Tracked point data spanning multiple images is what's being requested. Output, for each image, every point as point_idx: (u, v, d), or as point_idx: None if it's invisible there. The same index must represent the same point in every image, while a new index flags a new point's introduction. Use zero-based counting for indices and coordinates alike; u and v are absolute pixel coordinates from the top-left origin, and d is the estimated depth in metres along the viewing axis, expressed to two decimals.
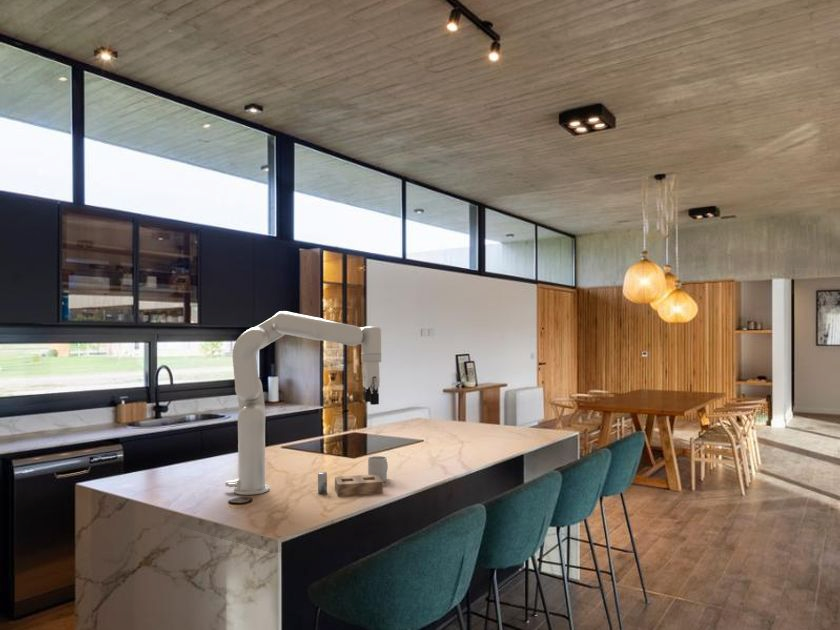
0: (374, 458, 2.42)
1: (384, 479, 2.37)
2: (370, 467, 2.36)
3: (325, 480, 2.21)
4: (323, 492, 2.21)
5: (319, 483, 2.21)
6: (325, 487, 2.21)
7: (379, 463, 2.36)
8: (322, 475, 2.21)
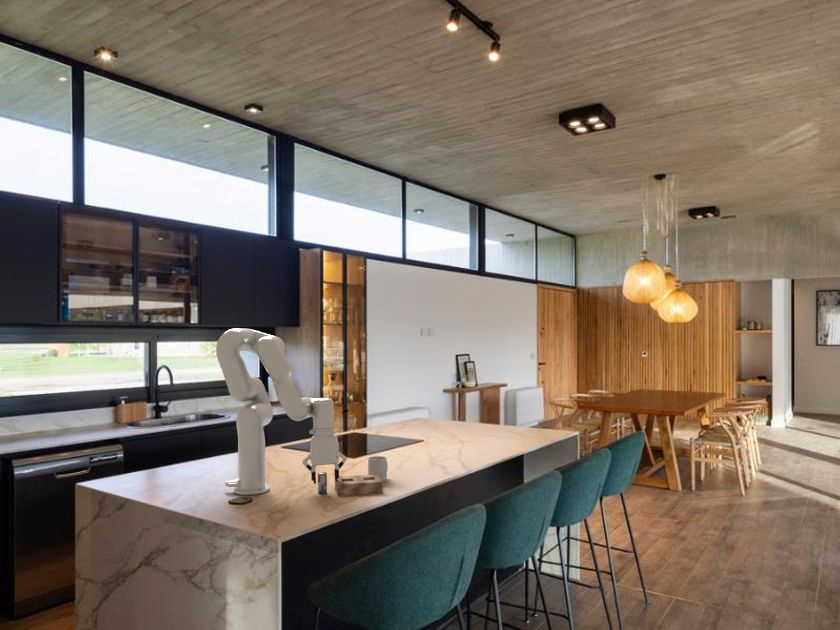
0: (374, 458, 2.42)
1: (384, 479, 2.37)
2: (370, 467, 2.36)
3: (325, 480, 2.21)
4: (323, 492, 2.21)
5: (319, 483, 2.21)
6: (325, 487, 2.21)
7: (379, 463, 2.36)
8: (322, 475, 2.21)
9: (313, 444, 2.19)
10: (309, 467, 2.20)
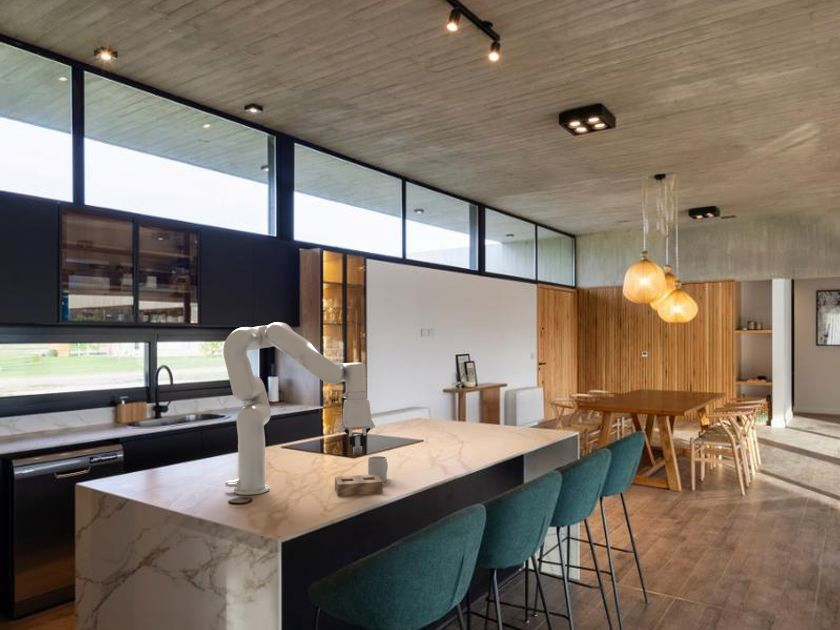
0: (374, 458, 2.42)
1: (384, 479, 2.37)
2: (370, 467, 2.36)
3: (360, 441, 2.24)
4: (358, 453, 2.24)
5: (354, 444, 2.24)
6: (360, 448, 2.24)
7: (379, 463, 2.36)
8: (357, 436, 2.24)
9: (346, 407, 2.22)
10: (347, 431, 2.24)
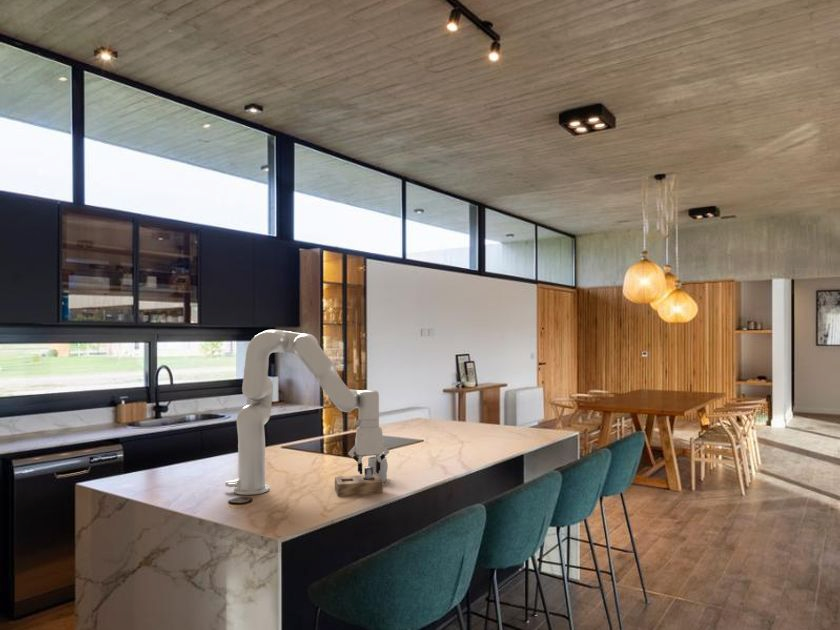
0: (374, 458, 2.42)
1: (384, 479, 2.37)
2: None
3: (371, 474, 2.26)
4: None
5: (366, 477, 2.25)
6: None
7: None
8: (368, 469, 2.25)
9: (358, 435, 2.23)
10: (356, 458, 2.24)
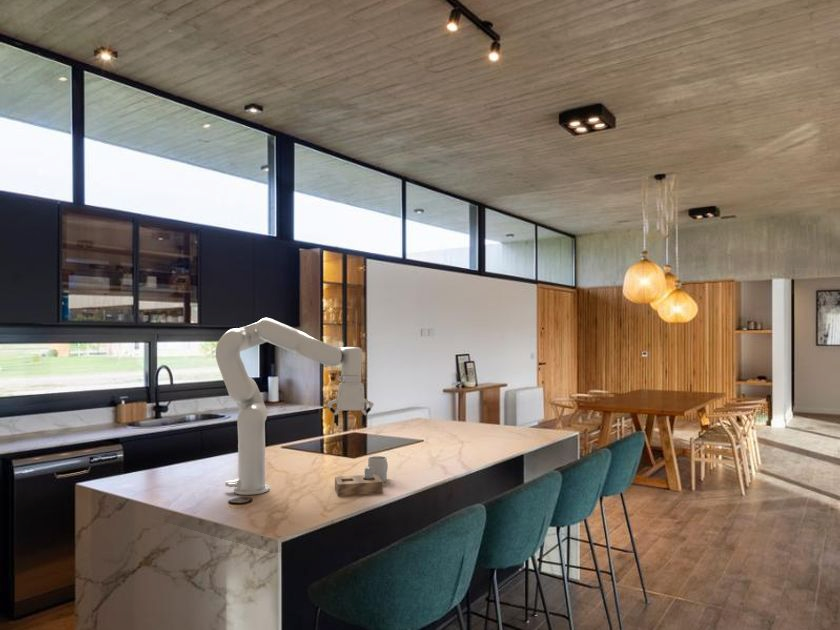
0: (374, 458, 2.42)
1: (384, 479, 2.37)
2: None
3: (372, 474, 2.25)
4: None
5: (366, 477, 2.25)
6: None
7: (379, 463, 2.36)
8: (369, 469, 2.25)
9: (340, 390, 2.28)
10: (332, 410, 2.29)
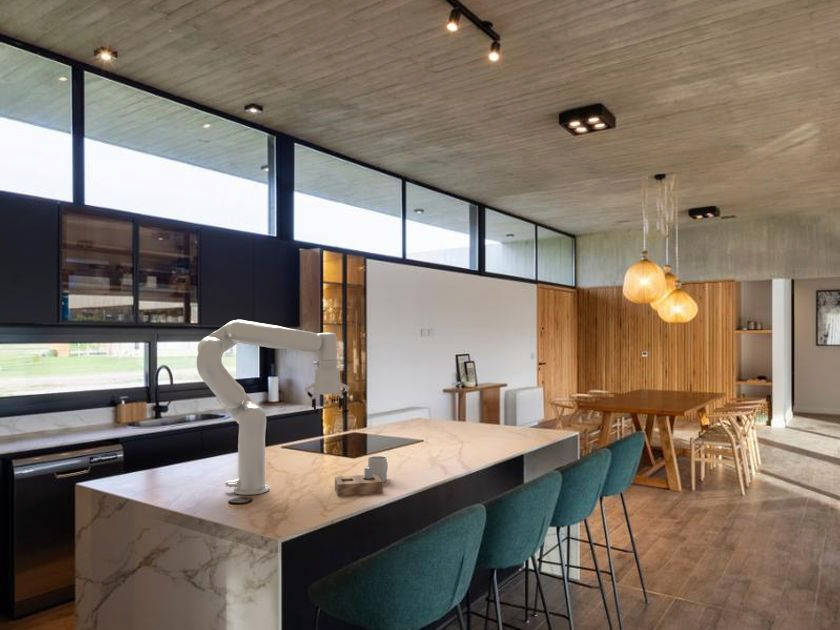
0: (374, 458, 2.42)
1: (384, 479, 2.37)
2: None
3: (372, 474, 2.25)
4: None
5: (366, 477, 2.25)
6: None
7: (379, 463, 2.36)
8: (369, 469, 2.25)
9: (317, 374, 2.35)
10: (310, 394, 2.36)
